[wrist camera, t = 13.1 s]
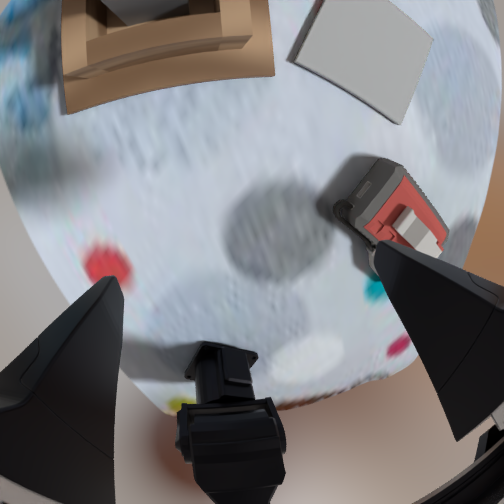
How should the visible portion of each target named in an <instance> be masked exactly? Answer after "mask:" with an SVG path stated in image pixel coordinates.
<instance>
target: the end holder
mask: <svg viewBox="0 0 504 504" xmlns="http://www.w3.org/2000/svg"><path fill="white" fill-rule="evenodd" d="M189 12H190V14H187V15H180V16H174V17H168V18H163V19H158V20H153V21H148V22H144V23H140V24H136V25H132V26H127V25H126V24H125V23H124V22H123V21H122V20H121V19H120V18H119V17H118V16H117V15H116V14H115V13H113V12H112V11H111V10H110V9H109V8H108V7H107V6H106V5H105V4H104V3H103V2H102V1H101V0H62V14H61V49H62V68H63V81H64V91H65V99H66V107H67V114H68V115H69V114H74V113H77V112H80V111H82V110H85V109H88V108H91V107H94V106H98V105H101V104H104V103H108V102H111V101H114V100H118V99H122V98H126V97H129V96H133V95H137V94H142V93H146V92H151V91H155V90H160V89H165V88H170V87H176V86H182V85H188V84H194V83H202V82H209V81H218V80H228V79H239V78H254V77H272V76H275V68H274V56H273V45H272V34H271V24H270V14H269V5H268V0H189Z"/></svg>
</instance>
